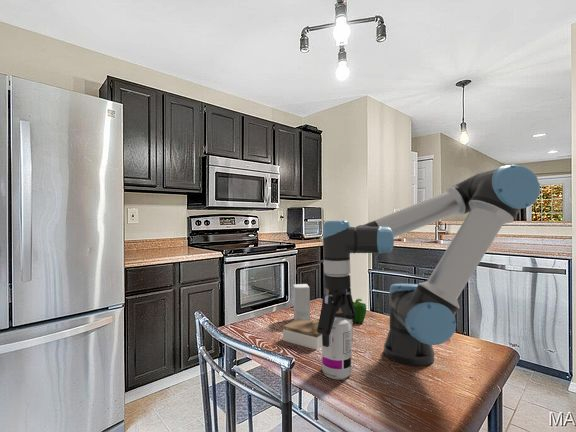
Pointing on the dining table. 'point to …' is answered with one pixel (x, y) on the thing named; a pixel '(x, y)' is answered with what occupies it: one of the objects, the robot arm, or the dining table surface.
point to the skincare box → (301, 301)
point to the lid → (303, 326)
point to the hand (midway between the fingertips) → (338, 348)
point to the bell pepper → (359, 311)
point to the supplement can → (339, 351)
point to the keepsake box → (302, 339)
